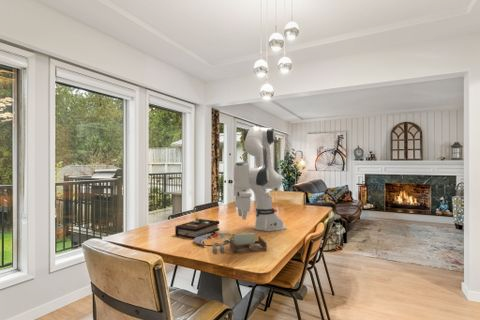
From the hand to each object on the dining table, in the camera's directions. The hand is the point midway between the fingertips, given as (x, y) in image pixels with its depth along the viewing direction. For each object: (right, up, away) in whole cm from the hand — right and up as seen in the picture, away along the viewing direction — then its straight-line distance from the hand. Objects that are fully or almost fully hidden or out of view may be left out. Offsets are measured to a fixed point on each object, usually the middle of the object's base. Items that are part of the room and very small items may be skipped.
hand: (242, 217), depth 147 cm
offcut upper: (+7, -15, -4) cm, 16 cm away
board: (+1, -16, 0) cm, 16 cm away
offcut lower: (+7, -16, -4) cm, 18 cm away
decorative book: (-29, -19, +36) cm, 50 cm away
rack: (+3, -17, -2) cm, 17 cm away
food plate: (-16, -18, +16) cm, 29 cm away
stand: (-12, -17, -6) cm, 22 cm away
